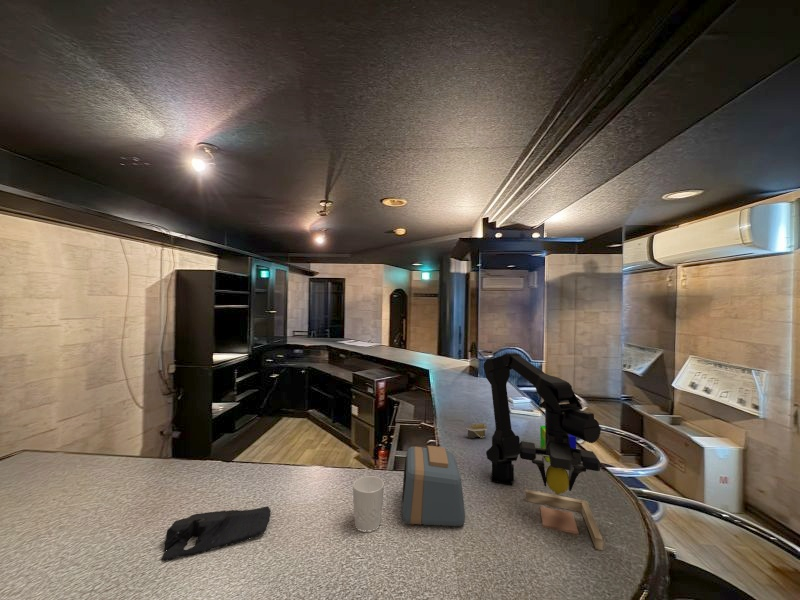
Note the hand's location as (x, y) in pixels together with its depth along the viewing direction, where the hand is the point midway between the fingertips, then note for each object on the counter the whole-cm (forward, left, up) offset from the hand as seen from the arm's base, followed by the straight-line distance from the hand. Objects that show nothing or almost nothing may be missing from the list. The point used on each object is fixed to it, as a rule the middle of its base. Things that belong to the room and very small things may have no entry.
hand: (557, 487), depth 82 cm
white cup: (-46, -19, -9) cm, 51 cm away
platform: (-25, +49, -9) cm, 56 cm away
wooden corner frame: (+1, 0, -8) cm, 8 cm away
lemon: (0, 0, -2) cm, 2 cm away
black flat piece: (-79, -34, -9) cm, 86 cm away
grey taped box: (-32, -7, -9) cm, 34 cm away
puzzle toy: (+6, +42, -9) cm, 43 cm away
